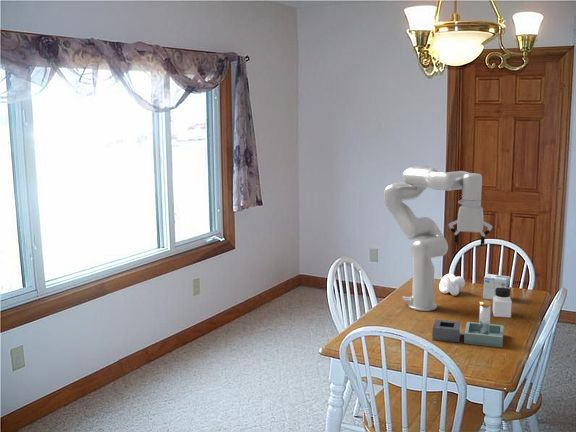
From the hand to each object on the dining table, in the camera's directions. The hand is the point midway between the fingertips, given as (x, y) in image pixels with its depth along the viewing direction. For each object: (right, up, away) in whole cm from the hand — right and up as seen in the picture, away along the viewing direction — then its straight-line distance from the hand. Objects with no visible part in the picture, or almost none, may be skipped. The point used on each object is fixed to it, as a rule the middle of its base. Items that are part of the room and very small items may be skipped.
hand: (469, 244), depth 270 cm
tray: (+2, -36, -13) cm, 39 cm away
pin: (+2, -35, -14) cm, 38 cm away
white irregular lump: (+5, -26, +47) cm, 54 cm away
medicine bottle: (+18, -31, +15) cm, 39 cm away
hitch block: (-12, -36, -11) cm, 39 cm away
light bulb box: (+23, -27, +39) cm, 53 cm away
